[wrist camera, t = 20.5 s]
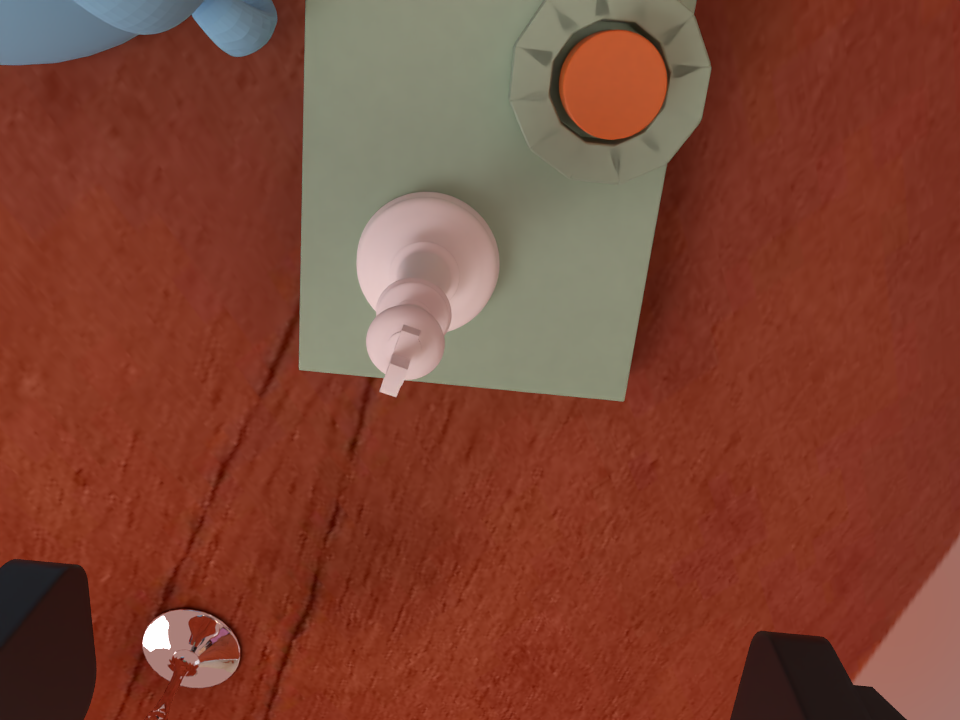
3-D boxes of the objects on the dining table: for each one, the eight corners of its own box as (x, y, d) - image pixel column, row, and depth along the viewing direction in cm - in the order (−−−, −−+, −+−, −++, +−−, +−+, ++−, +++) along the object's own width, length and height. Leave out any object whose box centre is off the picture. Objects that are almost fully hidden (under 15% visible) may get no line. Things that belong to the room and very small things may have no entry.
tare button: (665, 35, 24) (677, 35, 23) (648, 138, 25) (657, 145, 24) (565, 24, 24) (570, 24, 23) (552, 128, 25) (555, 134, 24)
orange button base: (699, -9, 27) (727, -16, 23) (628, 382, 32) (644, 422, 29) (318, -51, 26) (294, -63, 23) (309, 351, 32) (288, 387, 28)
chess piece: (520, 222, 28) (534, 316, 18) (469, 349, 29) (458, 494, 20) (382, 169, 27) (324, 239, 18) (339, 302, 29) (265, 429, 20)
